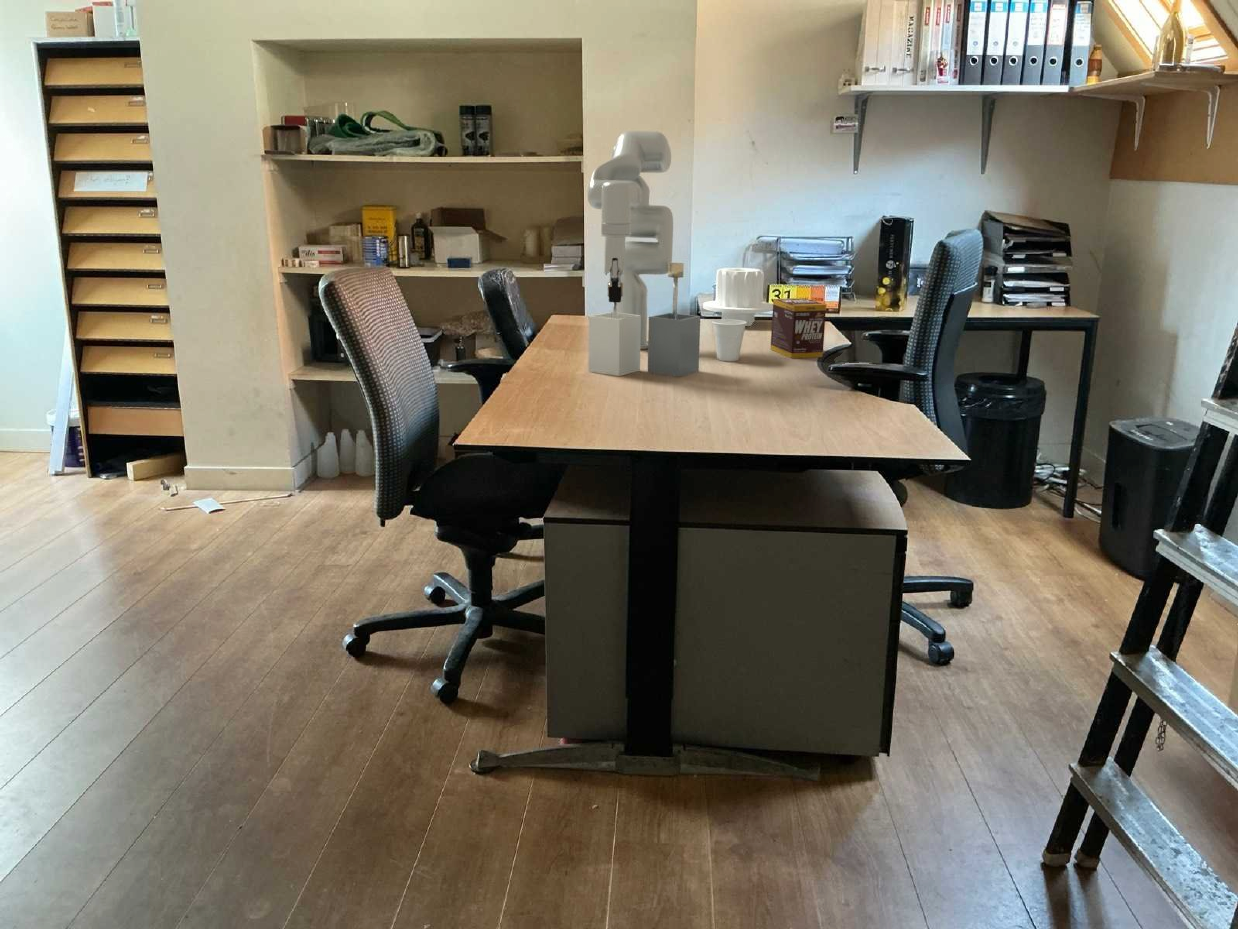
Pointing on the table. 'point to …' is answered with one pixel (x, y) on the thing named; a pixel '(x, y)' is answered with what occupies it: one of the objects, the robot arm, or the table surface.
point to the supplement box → (798, 327)
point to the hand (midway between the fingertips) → (615, 300)
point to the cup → (728, 338)
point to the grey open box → (673, 344)
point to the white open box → (614, 343)
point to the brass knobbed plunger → (675, 282)
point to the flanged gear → (739, 294)
